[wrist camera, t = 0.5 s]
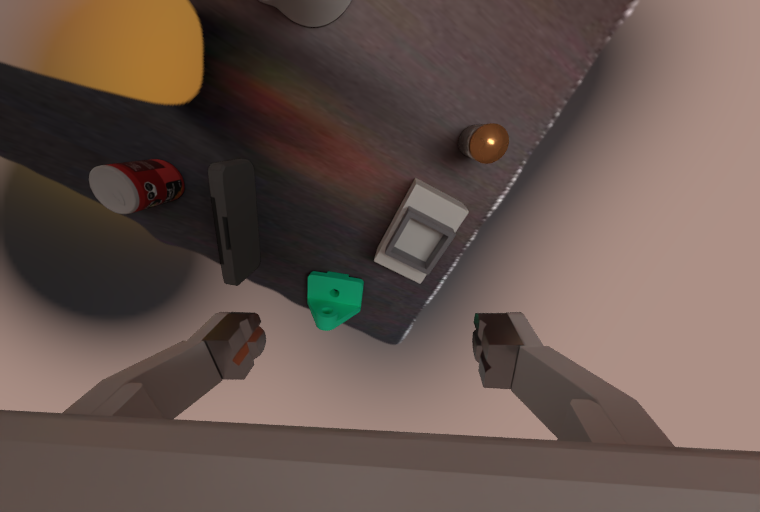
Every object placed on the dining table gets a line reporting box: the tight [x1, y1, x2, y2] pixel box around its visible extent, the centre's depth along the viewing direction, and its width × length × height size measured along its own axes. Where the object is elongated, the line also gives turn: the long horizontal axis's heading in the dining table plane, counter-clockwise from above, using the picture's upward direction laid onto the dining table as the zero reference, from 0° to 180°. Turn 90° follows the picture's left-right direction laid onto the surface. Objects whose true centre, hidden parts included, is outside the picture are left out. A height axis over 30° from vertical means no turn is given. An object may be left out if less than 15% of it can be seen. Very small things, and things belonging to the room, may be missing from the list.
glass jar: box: [458, 124, 509, 164], centre depth 41 cm, size 5×5×10 cm
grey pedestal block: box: [374, 178, 469, 284], centre depth 48 cm, size 16×10×9 cm, turn 154°
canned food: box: [89, 159, 184, 214], centre depth 48 cm, size 8×8×11 cm
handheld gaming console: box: [208, 159, 260, 286], centre depth 51 cm, size 23×3×10 cm, turn 173°
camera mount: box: [308, 271, 364, 331], centre depth 56 cm, size 12×8×10 cm, turn 83°
